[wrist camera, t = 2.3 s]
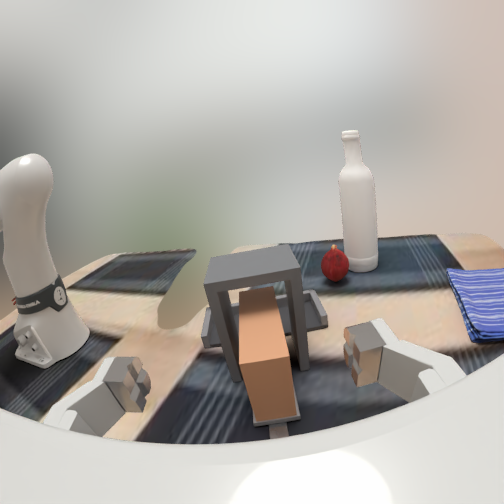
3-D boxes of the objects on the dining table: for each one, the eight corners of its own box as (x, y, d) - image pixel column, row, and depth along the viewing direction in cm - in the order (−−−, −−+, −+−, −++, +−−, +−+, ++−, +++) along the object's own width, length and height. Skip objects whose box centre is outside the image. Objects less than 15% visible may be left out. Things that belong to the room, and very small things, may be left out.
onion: (352, 285, 52) (351, 248, 50) (325, 290, 53) (322, 252, 50) (345, 273, 58) (343, 238, 55) (320, 277, 58) (317, 242, 56)
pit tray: (204, 348, 42) (200, 336, 41) (209, 318, 51) (206, 307, 50) (327, 327, 42) (327, 315, 41) (314, 300, 50) (313, 289, 50)
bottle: (370, 275, 55) (359, 128, 45) (338, 269, 60) (324, 132, 50) (382, 261, 60) (373, 129, 50) (353, 256, 65) (341, 132, 55)
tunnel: (233, 382, 34) (203, 284, 29) (233, 346, 42) (210, 257, 37) (309, 369, 34) (300, 267, 29) (299, 335, 41) (288, 243, 36)
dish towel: (471, 349, 28) (476, 334, 27) (443, 276, 48) (444, 263, 47) (547, 338, 21) (552, 324, 20) (504, 273, 41) (506, 262, 40)
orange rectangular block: (254, 426, 26) (235, 366, 23) (250, 349, 40) (236, 291, 36) (300, 419, 26) (293, 356, 23) (284, 343, 40) (275, 284, 36)
